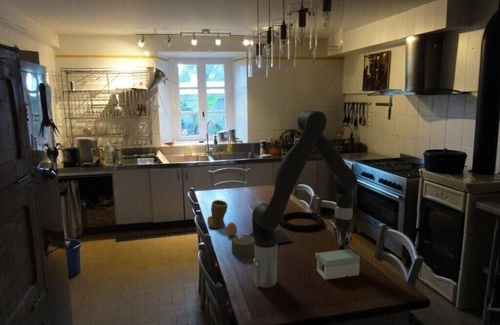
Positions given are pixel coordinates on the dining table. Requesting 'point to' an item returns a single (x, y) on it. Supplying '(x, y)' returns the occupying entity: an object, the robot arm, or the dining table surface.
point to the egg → (231, 229)
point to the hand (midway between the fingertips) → (341, 251)
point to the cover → (338, 257)
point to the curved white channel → (338, 270)
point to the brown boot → (217, 214)
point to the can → (243, 246)
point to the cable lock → (302, 227)
